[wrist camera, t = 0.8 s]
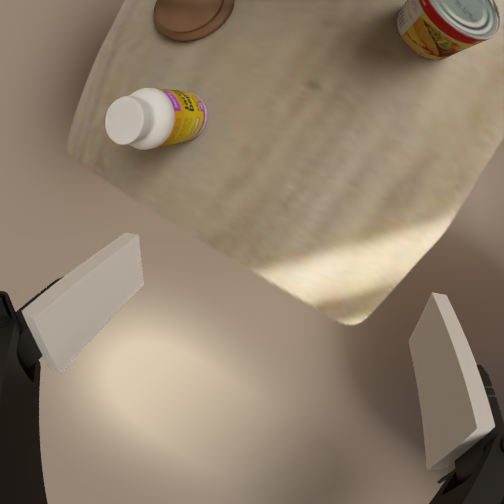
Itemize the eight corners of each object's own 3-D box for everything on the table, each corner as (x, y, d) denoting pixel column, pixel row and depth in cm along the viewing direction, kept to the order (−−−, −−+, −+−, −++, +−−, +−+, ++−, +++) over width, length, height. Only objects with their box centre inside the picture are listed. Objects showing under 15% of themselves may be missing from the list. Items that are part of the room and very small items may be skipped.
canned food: (456, 67, 22) (505, 52, 12) (397, 50, 24) (428, 21, 14) (452, 14, 19) (494, -16, 8) (394, -3, 20) (418, -46, 10)
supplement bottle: (219, 110, 33) (165, 110, 22) (189, 150, 36) (130, 169, 25) (181, 82, 32) (118, 74, 21) (154, 122, 35) (88, 131, 24)
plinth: (164, -20, 25) (157, -25, 23) (240, -29, 23) (235, -35, 21) (152, 44, 30) (143, 41, 28) (228, 40, 28) (222, 36, 27)
